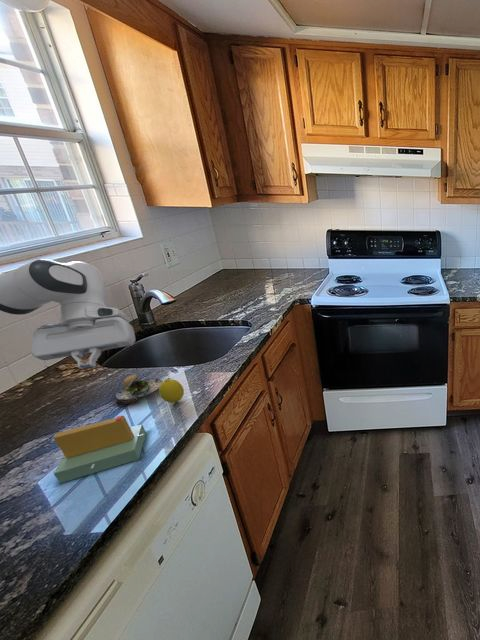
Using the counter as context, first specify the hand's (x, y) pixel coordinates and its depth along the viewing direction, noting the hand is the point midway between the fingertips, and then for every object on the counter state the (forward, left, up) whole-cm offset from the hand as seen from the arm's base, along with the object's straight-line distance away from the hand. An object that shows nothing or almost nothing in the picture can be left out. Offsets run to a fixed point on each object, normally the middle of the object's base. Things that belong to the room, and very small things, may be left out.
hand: (86, 367), depth 94 cm
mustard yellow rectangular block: (+2, -18, -13) cm, 23 cm away
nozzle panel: (+2, -18, -16) cm, 25 cm away
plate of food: (+5, +12, -17) cm, 21 cm away
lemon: (+15, 0, -17) cm, 22 cm away
